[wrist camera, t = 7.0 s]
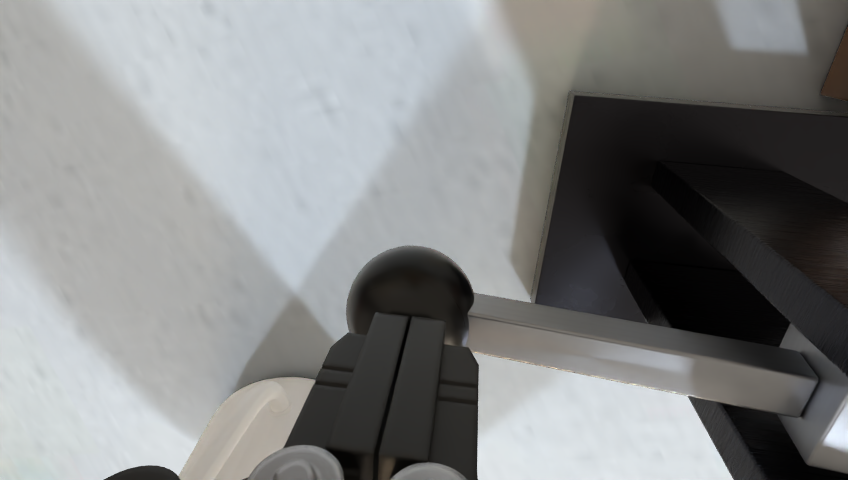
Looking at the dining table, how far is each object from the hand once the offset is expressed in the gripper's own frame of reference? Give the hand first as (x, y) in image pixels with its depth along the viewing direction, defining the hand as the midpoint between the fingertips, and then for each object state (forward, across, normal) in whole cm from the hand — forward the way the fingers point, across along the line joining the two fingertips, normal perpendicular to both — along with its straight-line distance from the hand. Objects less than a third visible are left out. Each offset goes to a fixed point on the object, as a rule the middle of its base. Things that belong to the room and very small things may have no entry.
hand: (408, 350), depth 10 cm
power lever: (+3, -5, 0) cm, 6 cm away
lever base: (+10, -10, 0) cm, 14 cm away
